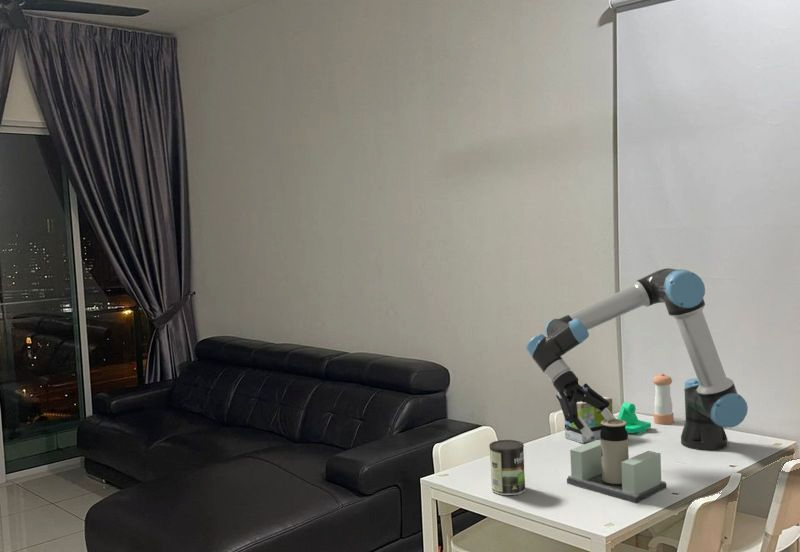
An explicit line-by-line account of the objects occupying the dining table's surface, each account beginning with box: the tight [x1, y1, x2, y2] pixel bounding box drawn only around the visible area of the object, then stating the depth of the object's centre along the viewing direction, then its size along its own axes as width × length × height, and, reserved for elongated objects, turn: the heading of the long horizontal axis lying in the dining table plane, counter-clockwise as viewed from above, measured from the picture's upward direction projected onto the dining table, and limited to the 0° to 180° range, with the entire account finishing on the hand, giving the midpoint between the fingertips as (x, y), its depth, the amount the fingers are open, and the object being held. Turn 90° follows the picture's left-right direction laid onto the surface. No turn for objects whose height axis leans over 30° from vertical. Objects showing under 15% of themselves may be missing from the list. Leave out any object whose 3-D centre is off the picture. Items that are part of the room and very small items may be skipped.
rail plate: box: [566, 473, 667, 504], centre depth 222 cm, size 24×16×2 cm, turn 40°
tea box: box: [564, 395, 613, 444], centre depth 272 cm, size 15×10×15 cm
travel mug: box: [599, 418, 630, 484], centre depth 221 cm, size 8×8×18 cm
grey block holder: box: [569, 439, 662, 494], centre depth 221 cm, size 22×14×9 cm, turn 40°
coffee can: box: [488, 439, 526, 496], centre depth 223 cm, size 10×10×14 cm
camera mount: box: [616, 402, 652, 435], centre depth 278 cm, size 12×8×10 cm, turn 126°
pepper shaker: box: [652, 372, 675, 425], centre depth 286 cm, size 7×7×19 cm
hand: (604, 432), depth 223 cm, fingers open, 13 cm apart
